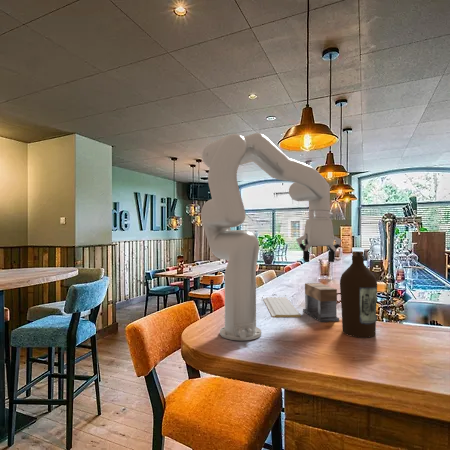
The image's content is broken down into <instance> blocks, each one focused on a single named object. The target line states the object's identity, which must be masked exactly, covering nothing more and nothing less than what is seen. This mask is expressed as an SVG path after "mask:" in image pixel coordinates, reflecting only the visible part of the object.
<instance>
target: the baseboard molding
mask: <svg viewBox="0 0 450 450" xmlns="http://www.w3.org/2000/svg"><path fill="white" fill-rule="evenodd" d="M276 296H277V294H276V293H275V294H273V296H271V297H270V296H269V297H267V296H266V298H263V297H264V296H262V297H261V300H262V301H264V304H265V305H266V307H267V310H268V311H269V313H270V316H271V318H301V317H302V314H301V313H300V312H299V310H297V308H296V307H295V306H294V305H293V304H292V302H291V301H290V300H289V299H288V298H287V296H281V297H280V296H279V297H278V296H277V297H276Z"/></svg>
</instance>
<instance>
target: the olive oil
mask: <svg viewBox="0 0 450 450" xmlns="http://www.w3.org/2000/svg"><path fill="white" fill-rule="evenodd" d="M351 253H352V256H351V264H350V266H349V267H347V269H345V271H344V272H343V273H342V274H341V277H340V279H339V290H340V292H339V293H341V295H340V300H341V303H340V305H341V322H342V323H341V326H342V327H341V328H342V329H341V330H342V333H343V334H345V335H347V336H350V337H354V338H365V339H367V338H374V337H375V336H376V332H377V329H376V327H377V321H378V315H377V302H378V301H377V300H378V299H377V298H378V281H377V278H376V276H375V275H374V273H373V272H372V271H371V270H370V269H369V268H368V267H367V266H366V265H365V259H364V257H365V256H364V251H360V250H359V251H358V250H356V251H354V250H353V251H352V252H351Z"/></svg>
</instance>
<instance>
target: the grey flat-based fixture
mask: <svg viewBox="0 0 450 450" xmlns="http://www.w3.org/2000/svg"><path fill="white" fill-rule="evenodd" d="M304 294H305V293H304ZM304 300H305V302H304V303H305V304H304V306H305V308H303V309H302V311H303V313H305V314H307V315H308V316H310V317H311V318H313V319H315V320H316V321H318V322H320V323H327V322H329V321H331V322H340V317H338V315H337V312H338V311H337V304H336V301H319V300H317V299H315V298H313V297H311V296H309V295H307V294H305V295H304Z"/></svg>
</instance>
